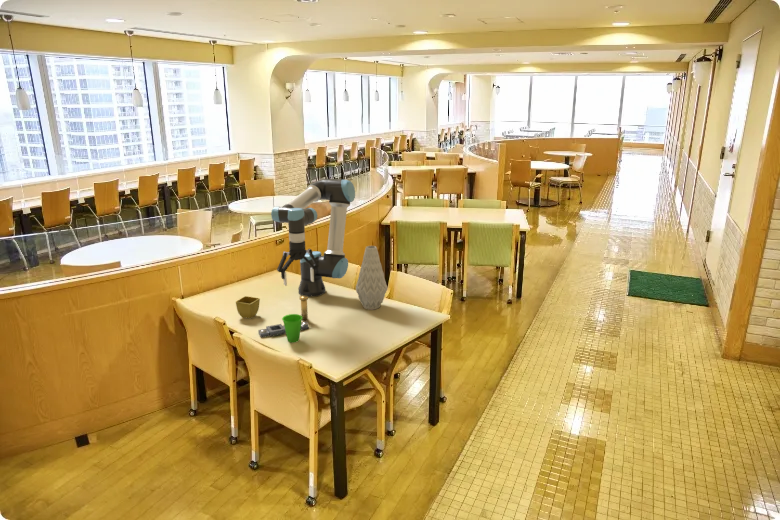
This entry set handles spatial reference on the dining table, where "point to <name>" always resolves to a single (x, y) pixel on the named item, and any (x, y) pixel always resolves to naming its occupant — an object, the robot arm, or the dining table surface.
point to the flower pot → (248, 306)
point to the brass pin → (304, 307)
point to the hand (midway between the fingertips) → (298, 283)
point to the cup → (292, 327)
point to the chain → (278, 330)
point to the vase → (371, 280)
